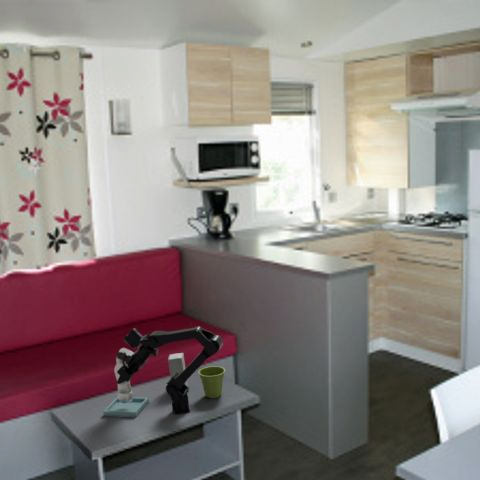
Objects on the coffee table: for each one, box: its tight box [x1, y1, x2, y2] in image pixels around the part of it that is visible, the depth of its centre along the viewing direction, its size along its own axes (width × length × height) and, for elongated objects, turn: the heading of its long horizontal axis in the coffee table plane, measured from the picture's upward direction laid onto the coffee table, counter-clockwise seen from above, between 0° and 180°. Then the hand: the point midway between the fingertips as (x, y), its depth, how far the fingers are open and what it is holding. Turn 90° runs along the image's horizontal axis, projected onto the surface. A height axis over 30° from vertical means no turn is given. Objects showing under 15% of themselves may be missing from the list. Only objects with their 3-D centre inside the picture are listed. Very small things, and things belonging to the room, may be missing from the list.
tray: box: [102, 396, 150, 418], centre depth 285 cm, size 15×15×2 cm
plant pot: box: [197, 365, 226, 399], centre depth 292 cm, size 12×12×11 cm
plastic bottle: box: [113, 356, 134, 403], centre depth 283 cm, size 6×7×20 cm
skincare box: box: [167, 352, 189, 388], centre depth 302 cm, size 8×7×16 cm
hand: (120, 380), depth 283 cm, fingers closed on plastic bottle, 6 cm apart
